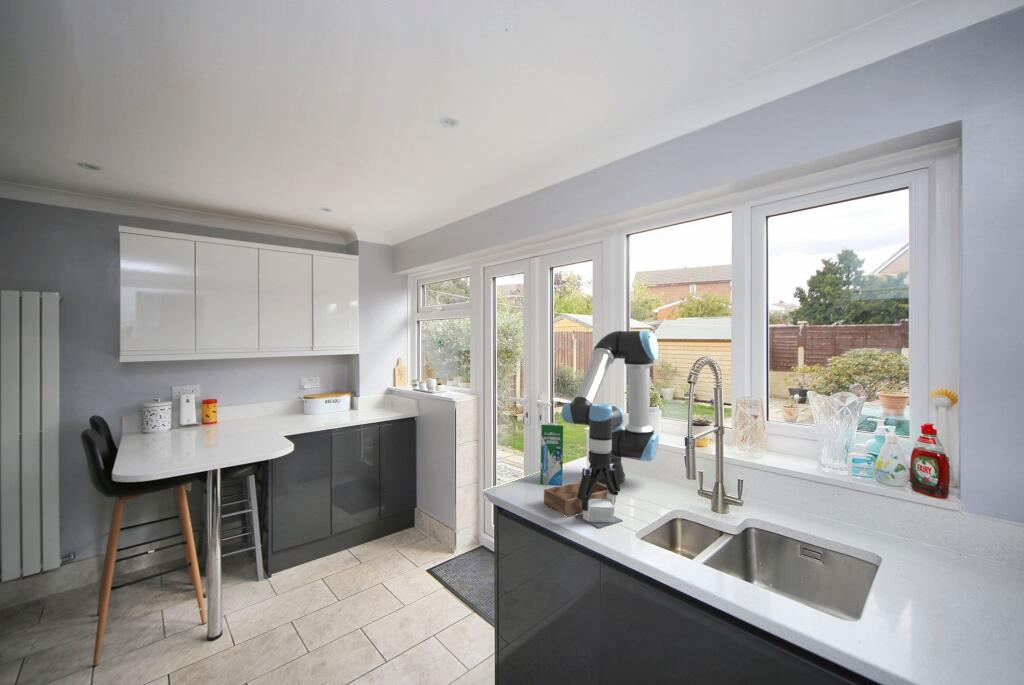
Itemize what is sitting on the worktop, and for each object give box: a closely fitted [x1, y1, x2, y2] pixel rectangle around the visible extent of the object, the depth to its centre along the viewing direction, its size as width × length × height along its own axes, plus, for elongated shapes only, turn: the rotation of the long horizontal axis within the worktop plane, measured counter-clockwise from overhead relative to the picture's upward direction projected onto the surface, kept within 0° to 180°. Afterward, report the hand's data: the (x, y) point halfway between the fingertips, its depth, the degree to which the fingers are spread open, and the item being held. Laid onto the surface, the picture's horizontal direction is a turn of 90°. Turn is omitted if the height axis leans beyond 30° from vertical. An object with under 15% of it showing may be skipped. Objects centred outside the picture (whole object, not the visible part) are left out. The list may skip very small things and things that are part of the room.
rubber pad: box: [575, 513, 623, 529], centre depth 144 cm, size 11×11×1 cm
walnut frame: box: [543, 481, 616, 518], centre depth 157 cm, size 23×13×6 cm, turn 123°
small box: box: [589, 499, 615, 523], centre depth 144 cm, size 8×8×5 cm
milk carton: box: [539, 422, 564, 486], centre depth 182 cm, size 9×9×25 cm
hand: (598, 516), depth 144 cm, fingers closed on small box, 10 cm apart
